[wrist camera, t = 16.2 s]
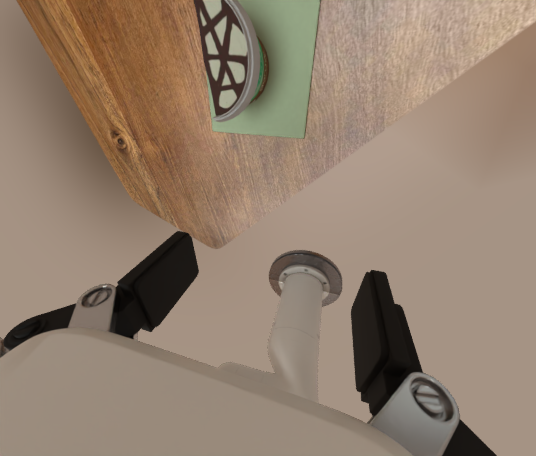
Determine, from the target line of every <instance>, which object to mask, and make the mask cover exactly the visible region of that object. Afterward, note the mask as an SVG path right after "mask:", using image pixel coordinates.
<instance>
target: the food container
mask: <svg viewBox="0 0 536 456" xmlns="http://www.w3.org/2000/svg"><path fill="white" fill-rule="evenodd" d="M194 4H195V7H196V12H197V17H198V23H199V29H200V35H201V43H202V51H203V58H204V63H205V67H206V72H207V75H208V79H209V84H210V88H211V93H212V98H213V104H214V109H215V114H216V117H214V118H212V119H215V121H217V122H225V121H228V120H231V119H233V118H235V117H236V116H238V115H239V114H240V113H241V112H242V111H244V110H245V108H246V107H247V106H248V105H249V104H251V103H252V102H254V101H256V100H257V99H258V97H259V96H260V95H261V94H262V93H263V91H264V88H265V86H266V84H267V81H268V75H269V61H268V56H267V52H266V50H265V47H264V45H263V43H262V42H261V40H260V39H259V38H258V36H257V35H256V32H255V29H254V27H253V24H252V22H251V20H250V18H249V16H248V14H247V13H246V11H245V9H244V8H243V7H242V5H241V4H240V3H239V2H238V0H194Z"/></svg>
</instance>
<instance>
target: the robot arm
mask: <svg viewBox="0 0 536 456" xmlns="http://www.w3.org/2000/svg"><path fill="white" fill-rule="evenodd" d="M198 272H199V270H198V265H197V261H196V256H195V251H194V247H193V242H192V237H191V236H190V235H189V234H188V233H185V232H180V231H177V232H176V233H174V234H173V235H172V236H171V237H170V238H169V239H167V240H166V241H165V242H164V243H163V244H162V245H160V246H159V247H158V248H157V249H156V250H155V251H153V252H152V253H151V254H150V255H149V256H147V257H146V258H145V259H144V260H143V261H142V262H140V263H139V264H138V265H137V266H136V267H135V268H133V269H132V270H131V271H130V272H129V273H127V274H126V275H125V276H124V277H123V278H122V279H120V280H119V281H118V286H117V287H116V288H115V286H113V285H111V284H102V285H99V286H95V287H93V288H91V289H89V290H88V291H86V292H85V293H84V294H83V295H82V296H81V297H80V298H79V300H78V301H77V303H76V304H73V305H70V306H67V307H64V308H61V309H57V310H54V311H51V312H48V313H44V314H41V315H38V316H35V317H32V318H30V319H27V320H26V321H24V322H22V323H20V324H19V325H17V326H16V327H14V328H13V329H12V330H11V331H10V332H9V333H8V334H7V335H6V337H5V338H4V339H2V338H0V456H496V454H495V453H494V452H493V451H491V450H490V448H488V447H487V446H486V445H485V444H484V443H483V442H482V441H481V440H480V439H479V438H478V437H477V436H476V435H475V434H474V433H473V432H472V431H471V430H470V429H469V428H468V427H467V426H466V425H465V424H464V423H463V422H462V421H461V420H460V414H459V408H458V406H457V404H456V402H455V399H454V398H453V397H452V395H451V394H450V392H449V391H448V390H447V389H446V388H445V387H444V386H443V385H442V384H441V383H440V382H439V381H438V380H436V379H435V378H433V377H431V376H429V375H427V374H425V373H423V372H422V369H421V365H420V362H419V359H418V356H417V353H416V349H415V346H414V343H413V339H412V336H411V333H410V330H409V327H408V323H407V320H406V317H405V314H404V311H403V309H402V307H401V306H400V305H398V304H394V300H393V296H392V293H391V289H390V286H389V283H388V279H387V275H386V273H385V272H380V271H375V270H371V271H370V272H366V274H365V276H364V279H363V281H362V284H361V286H360V289H359V291H358V293H357V296H356V299H355V301H354V303H353V306H352V309H351V320H352V335H353V350H354V365H355V380H356V389H357V391H359V392H361V401H363V402H366V403H369V408H370V413H371V414H372V415H373V416H372V417H371V418H370V420H369V421H368V422H367V423H365V422H363V421H361V420H359V419H357V418H354V417H352V416H350V415H347V414H345V413H342V412H340V411H338V410H335V409H332V408H329V407H327V406H324V405H321V404H319V403H318V382H317V381H318V354H319V338H320V323H321V308H322V300H323V299H325V298H326V297H327V296H328V294H329V290H330V284H329V280H328V279H327V277H326V276H325V275H324V273H322V272H321V271H320V270H318V269H316V268H314V267H312V266H308V265H301V264H299V265H292V266H289V267H287V268H285V269H284V270H283V271H282V272H281V274H280V277H279V286H280V288H281V290H282V293H281V297H280V300H279V304H278V307H277V311H276V315H275V318H274V322H273V325H272V329H271V333H270V336H269V339H268V347H267V348H268V355H269V359H270V362H271V364H272V367H273V369H274V372H275V373H270V372H264V371H261V370H257V369H254V368H251V367H247V366H244V365H241V364H237V363H232V362H228V363H224V364H221V365H220V366H219V367H218V368H216V367H213V366H210V365H207V364H205V363H202V362H198V361H196V360H193V359H190V358H187V357H184V356H181V355H178V354H175V353H172V352H169V351H166V350H163V349H160V348H158V347H155V346H152V345H149V344H145V343H143V342H140V341H137V339H138V331H139V330H140V329H141V328H142V329H143V330H146V331H149V332H152V330H153V329H154V328H155V327H157V326H158V325H160V323H161V322H162V321H163V320H164V318H165V317H166V316H167V314H168V313H169V312H170V310H171V309H172V308H173V307H174V305H175V304H176V303H177V301H178V300H179V299H180V298H181V296H182V295H183V293H184V292H185V291H186V290H187V288H188V287H189V286H190V284H191V283H192V282H193V281H194V279H195V278H196V277H197V275H198Z"/></svg>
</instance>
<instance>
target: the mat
mask: <svg viewBox="0 0 536 456" xmlns="http://www.w3.org/2000/svg"><path fill="white" fill-rule="evenodd" d="M238 2H239V3H240V4H241V5H242V7H243V8H244V9H245V11H246V13H247V14H248V16H249V18H250V20H251V22H252V24H253V27H254V29H255V32H256V35H257V36H258V38H259V39H260V40H261V42H262V43H263V45H264V47H265V50H266V52H267V56H268V61H269V75H268V81H267V84H266V86H265V88H264V91H263V93H262V94H261V95H260V96H259V97H258V99H257V100H256V101H254V102H252V103H251V104H249V105H248V106H247V107H246V108H245V110H244V111H242V112H241V113H240V114H239V115H238V116H236V117H235V118H233V119H231V120H228V121H225V122H217V121H215V119H212V118H214V117H216V114H215V109H214V104H213V98H212V93H211V88H210V84H209V79H208V75H207V82H208V91H209V101H210V110H211V120H212V129H213V131H215V132H227V133H239V134H252V135H264V136H276V137H289V138H301V139H304V136H305V128H306V119H307V111H308V102H309V94H310V85H311V77H312V68H313V60H314V51H315V43H316V34H317V26H318V17H319V9H320V0H238ZM206 73H207V72H206Z"/></svg>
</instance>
